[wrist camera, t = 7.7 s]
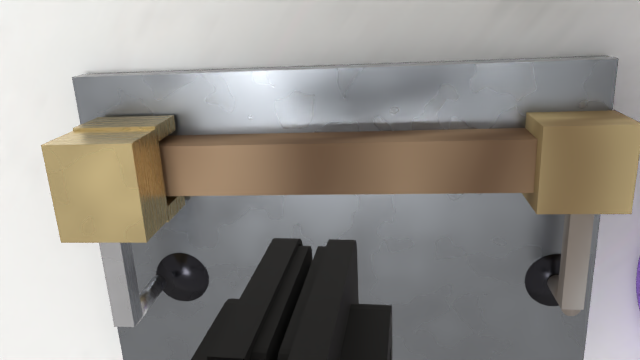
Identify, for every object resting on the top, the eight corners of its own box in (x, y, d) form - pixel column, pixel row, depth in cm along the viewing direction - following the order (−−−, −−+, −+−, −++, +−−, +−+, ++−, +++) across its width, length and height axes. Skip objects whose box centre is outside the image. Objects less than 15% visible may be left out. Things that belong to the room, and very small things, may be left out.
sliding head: (173, 115, 23) (130, 140, 19) (196, 287, 25) (162, 341, 21) (98, 117, 23) (40, 142, 19) (127, 286, 25) (81, 340, 21)
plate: (607, 55, 21) (618, 58, 20) (573, 367, 26) (581, 382, 25) (84, 74, 24) (71, 77, 23) (133, 357, 28) (124, 370, 27)
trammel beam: (615, 110, 21) (643, 124, 19) (594, 288, 23) (616, 319, 21) (80, 123, 23) (48, 137, 21) (109, 283, 26) (83, 311, 23)
